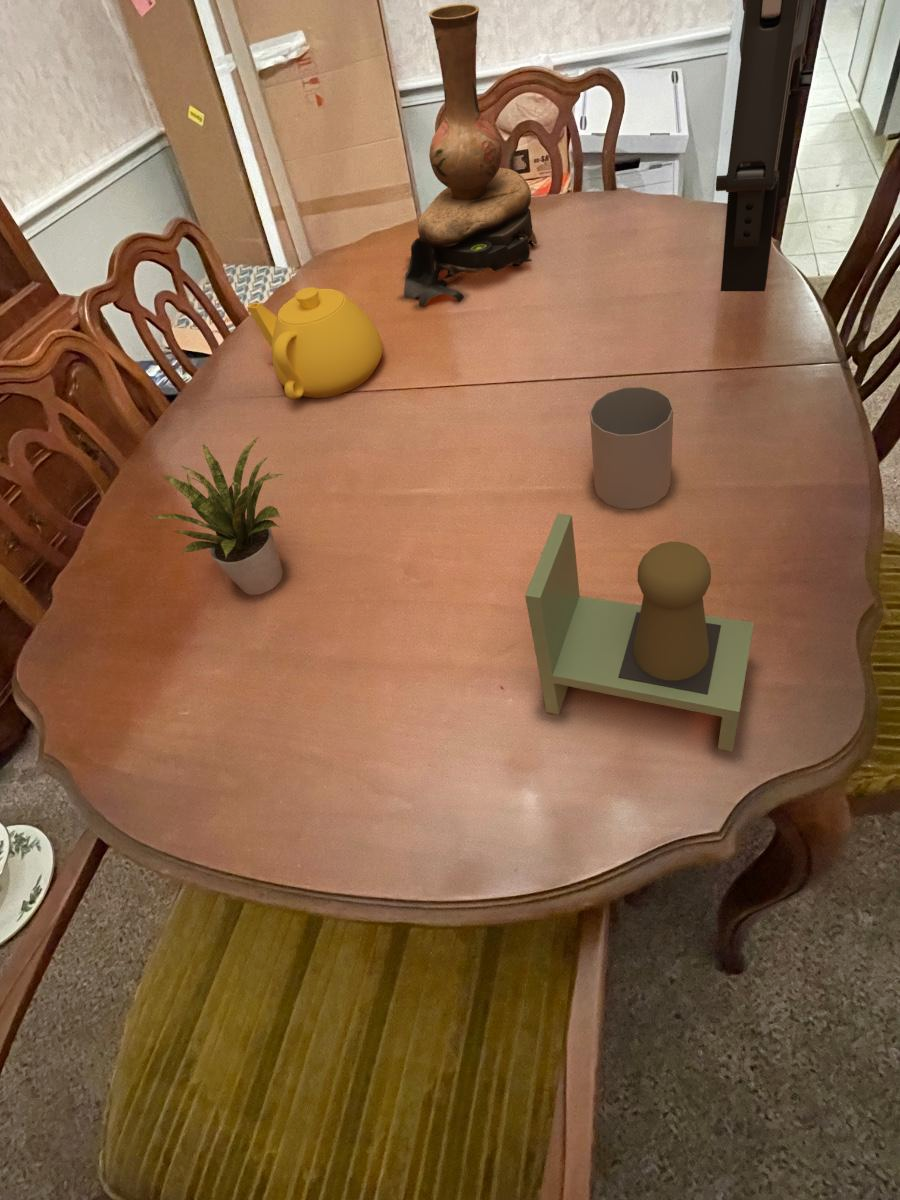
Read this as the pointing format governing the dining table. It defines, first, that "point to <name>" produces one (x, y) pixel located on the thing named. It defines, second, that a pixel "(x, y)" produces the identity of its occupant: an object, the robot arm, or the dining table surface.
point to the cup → (632, 446)
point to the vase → (466, 177)
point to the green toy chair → (622, 645)
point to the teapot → (320, 343)
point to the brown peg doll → (672, 611)
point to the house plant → (233, 525)
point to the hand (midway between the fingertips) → (755, 239)
